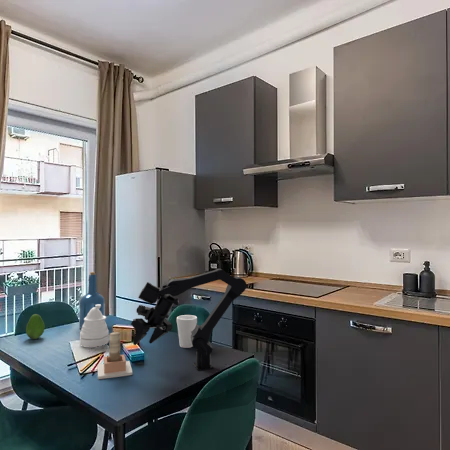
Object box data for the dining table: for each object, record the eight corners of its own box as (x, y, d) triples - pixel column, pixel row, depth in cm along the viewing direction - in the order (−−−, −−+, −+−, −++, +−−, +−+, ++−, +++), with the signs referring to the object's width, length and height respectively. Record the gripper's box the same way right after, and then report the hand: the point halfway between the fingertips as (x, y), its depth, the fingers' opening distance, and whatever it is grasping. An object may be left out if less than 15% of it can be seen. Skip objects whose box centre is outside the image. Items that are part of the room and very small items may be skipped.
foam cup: (198, 342, 171) (198, 315, 171) (195, 349, 162) (195, 320, 162) (178, 342, 172) (179, 314, 172) (174, 348, 163) (174, 319, 163)
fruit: (35, 341, 171) (35, 316, 171) (22, 340, 174) (22, 315, 174) (48, 337, 179) (48, 312, 179) (35, 335, 181) (35, 311, 181)
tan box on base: (132, 374, 133) (132, 362, 134) (97, 379, 129) (98, 366, 129) (129, 363, 145) (129, 352, 145) (97, 367, 141) (97, 355, 141)
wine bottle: (102, 330, 191) (102, 273, 192) (76, 331, 190) (76, 273, 190) (107, 323, 205) (107, 270, 205) (82, 324, 203) (83, 270, 203)
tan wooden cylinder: (120, 369, 136) (120, 334, 136) (109, 370, 135) (109, 335, 135) (119, 365, 140) (120, 331, 140) (108, 367, 138) (109, 332, 138)
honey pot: (114, 340, 174) (114, 303, 174) (96, 348, 162) (96, 308, 162) (92, 337, 179) (92, 301, 179) (73, 345, 166) (73, 306, 167)
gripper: (163, 298, 152) (145, 330, 152) (132, 296, 135) (112, 332, 136) (181, 313, 146) (162, 346, 147) (151, 313, 130) (130, 350, 131)
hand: (142, 343), depth 140 cm, fingers open, 9 cm apart
